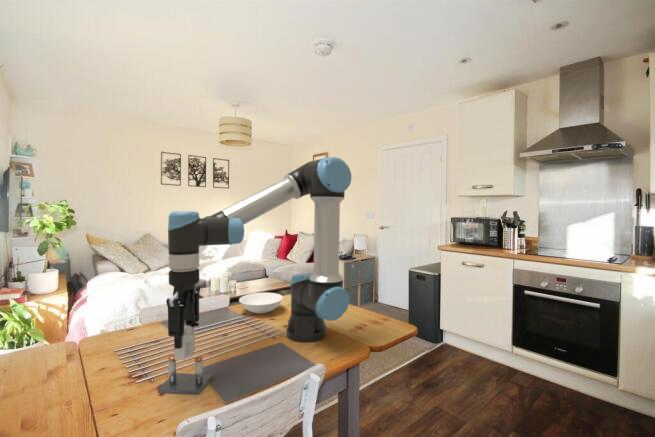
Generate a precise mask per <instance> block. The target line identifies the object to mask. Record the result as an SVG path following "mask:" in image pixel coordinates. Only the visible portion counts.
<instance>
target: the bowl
mask: <svg viewBox="0 0 655 437" xmlns="http://www.w3.org/2000/svg"><path fill="white" fill-rule="evenodd" d="M283 300H284V296H283V295H282V294H279V293H275V292H255V293H249V294H245V295H243V296H241V297H239V299H238V302H239V303H241V306H242V308H243V309H245V310H246V311H247V312H250V313H252V314H256V315H257V314H258V315H260V314H267V313H270V312H272V311H274V310H275V309H276V308H278V307H279V306H280V305H281V302H282V301H283Z"/></svg>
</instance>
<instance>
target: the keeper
mask: <svg viewBox="0 0 655 437" xmlns="http://www.w3.org/2000/svg"><path fill="white" fill-rule="evenodd" d="M167 358H168V359H167V360H168V378H167V379H166V380H165V381H164V382H163V383H162V385H160V386H159V387H158V388H157V393H160V394H180V395H182V394H183V395H184V394H186V395H200V394H201V392H203V390H205V388H206V386H207V385H208V383H210V381H211V380H212V379H213V374H212V373H210V374H209V373H204V371H203V370H204V369H203V360H204V357H203V356H201V355H200V356H199V355H198V356H195V358H194V362H195V363H194V364H195V365H194V366H195V369H194V370H195V372H194V373H189V372H188V373H184V372H183V373H182V372H177V360H174V354H173V355H170V356H168V357H167ZM211 378H212V379H211ZM210 379H211V380H210Z"/></svg>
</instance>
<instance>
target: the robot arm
mask: <svg viewBox="0 0 655 437" xmlns="http://www.w3.org/2000/svg"><path fill="white" fill-rule="evenodd" d="M351 183H352V172H351V169H350V167H349V165H348V164H347V163H346V162H345V160H343V159H342V158H340V157H338V156H337V157H336V156H329V157H328V156H327V157H323V158H321V159H315V160H310V161H308V162H306V163H304V164H303V165H301V166H299V167H297V168H296V169H294V170H292V171H291V172H289V173H287V174H285V175H284V176H283V179H282V180H279V181H277V182H275V183H273V184H271V185H269V186H267V187H266V188H264V189H262V190H259V191H258V192H255V193H254V194H252V195H249V196H247V197H245V198H243V199H241V200H239V201H237V202H235V203H233V204H231V205H229V206H227V207H225V208H223V209H222V210H220V211H218V212H215V213H214V214H211V215H207V216H205V217H202V218H201V216H200V214H199V212H198V211H187V210H186V211H171V212H170V213H169V215H168V225H167V242H168V243H167V244H168V257H167V260H168V269H169V271H168V285H170V286H172V287H173V290H172V291H173V292H172V297H171V298H166V301H165V302H166V306H167V322H168V323H167V324H168V326H167V327H168V330H167V332H168V334H167V335H168V337H173V344H174V345H173V348H174V350H173V352H174V353H173V355H174V360H176V361H177V360H178V361H185V360H186V359H187V358H186V334H184V326H186V325H188V326H191V327H192V331H191V334H193V352H195V351H196V328H195V327H199V325H200V323H199V321H200V292H201V287H200V286H196V284H198V283H199V282H200V269H199V267H200V247H201V246H203V247H205V246H222V245H223V246H224V245H228V246H232V245H237V244H241V243H242V242H243V241H244V238H245V226H244V225H247V224H248V223H250V222H251V221H253V220H256V219H258V218H259V217H261V216H262V215H265V214H266V213H268V212H270V211H272V210H274V209H275V208H278V207H279V206H282V205H283V204H285V203H287V202H289V201H292V199H295V200H297V199H298V200H299V199H300V198H302V197H304V196H307V195H310V196H309V197H310V199H311V201H312V202H313V203H314V214H313V215H314V218H313V219H314V222H313V223H314V224H313V228H314V230H313V231H314V232H313V234H314V235H313V272H305V273H297V274H293V275H292V276H291V278H290V309H291V310H290V316H289V320H288V323H287V326H286V334H285V335H286V337H287V338H288V339H290V340H292V341H294V342H301V343H309V342H315V341H319V340H322V339H324V338H325V337H326V336H327V326H326V322H325V321H327V322H328V321H329V322H331V321H336V320H338V319H340V318H341V317H342V316H343V315H344V314H345V313H346V312H347V310H348V308H349V306H350V295H349V293H348V291H347V290H346V289H345V288H344V277H343V276H342V275H341V274H340V272H339V271H340V269H339V268H340V227H341V226H340V225H341V224H340V223H341V222H340V220H341V219H340V217H341V216H340V214H341V212H340V210H341V202H343V201H344V199H345V193H346V192H345V191H346V190H347V189H349V186H350V185H351Z"/></svg>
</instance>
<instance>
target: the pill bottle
mask: <svg viewBox="0 0 655 437" xmlns="http://www.w3.org/2000/svg"><path fill="white" fill-rule="evenodd" d="M191 331H192V327H191V326H188V325H186V324H185V325H184V334H186V359H188V358H191V357H193V356H194V351H193V334H191Z"/></svg>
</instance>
